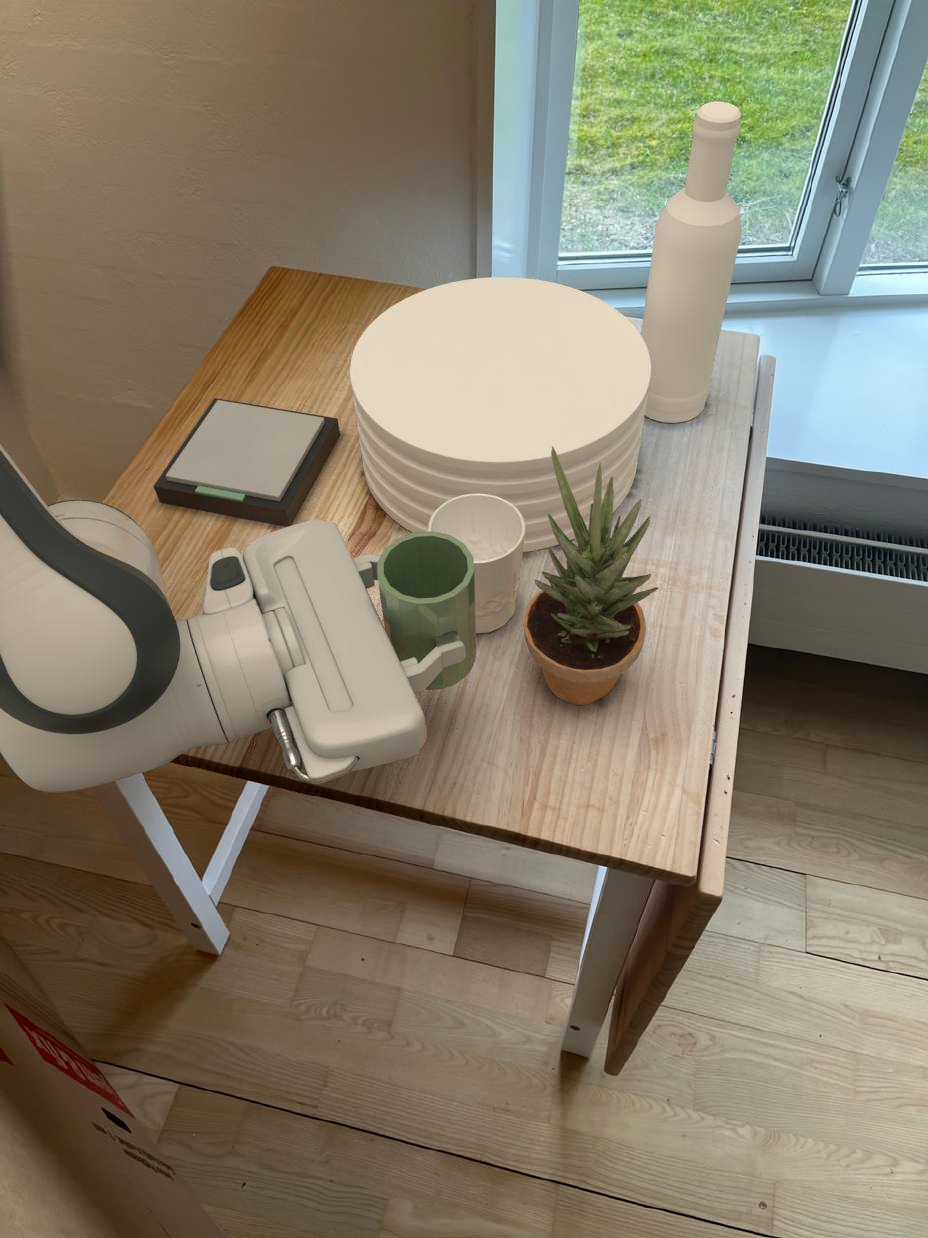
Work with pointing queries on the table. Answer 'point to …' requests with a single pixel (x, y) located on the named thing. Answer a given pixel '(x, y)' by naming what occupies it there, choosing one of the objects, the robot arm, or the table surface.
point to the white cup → (487, 551)
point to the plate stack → (499, 400)
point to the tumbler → (428, 598)
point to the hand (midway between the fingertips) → (440, 603)
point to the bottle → (692, 271)
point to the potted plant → (588, 601)
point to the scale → (249, 461)
